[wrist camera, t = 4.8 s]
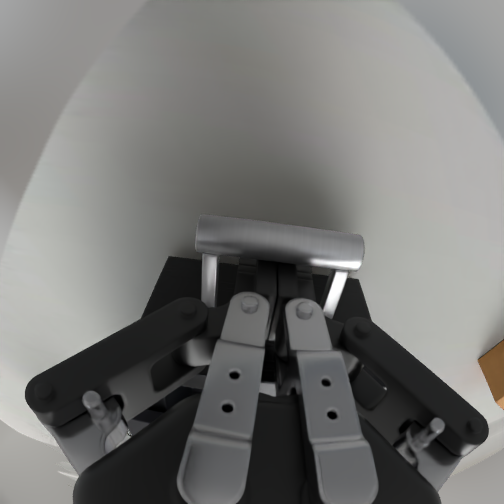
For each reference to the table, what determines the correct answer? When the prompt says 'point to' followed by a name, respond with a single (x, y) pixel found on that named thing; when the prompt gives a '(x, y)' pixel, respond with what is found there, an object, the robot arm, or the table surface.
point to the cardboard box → (494, 372)
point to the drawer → (270, 249)
